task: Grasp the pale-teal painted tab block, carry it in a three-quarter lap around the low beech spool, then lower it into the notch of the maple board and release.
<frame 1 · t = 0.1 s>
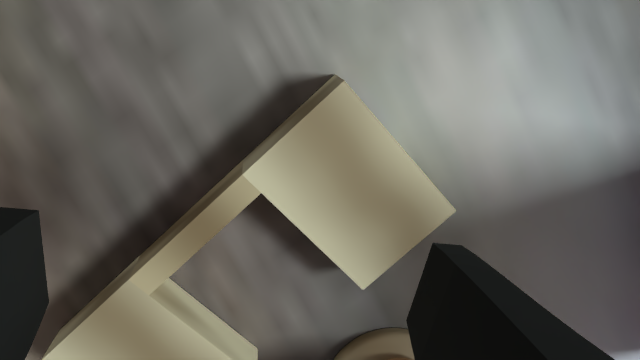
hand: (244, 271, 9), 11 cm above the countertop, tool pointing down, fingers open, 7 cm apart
notch board: (250, 260, 20), on the countertop
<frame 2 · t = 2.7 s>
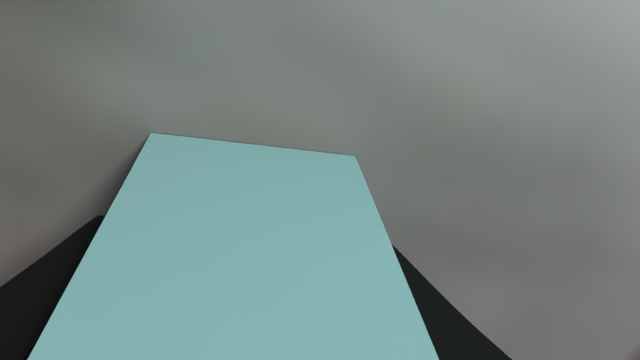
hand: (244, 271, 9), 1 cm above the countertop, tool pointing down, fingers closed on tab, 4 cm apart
tab: (246, 229, 10), on the countertop, touching gripper
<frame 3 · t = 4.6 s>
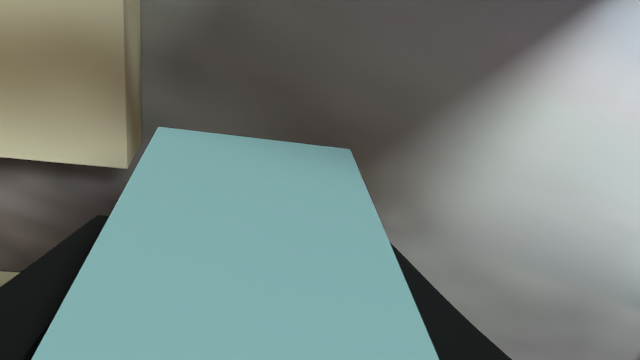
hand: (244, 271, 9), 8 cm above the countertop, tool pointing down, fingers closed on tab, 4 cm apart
tab: (247, 219, 11), point 6 cm above the countertop, touching gripper
notch board: (41, 208, 17), on the countertop
when the fingers open (3 cm above the countertop, at t = 6.6 s): tab stays where it is, on the countertop.
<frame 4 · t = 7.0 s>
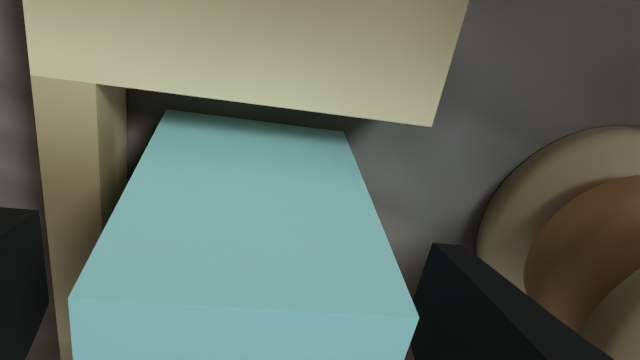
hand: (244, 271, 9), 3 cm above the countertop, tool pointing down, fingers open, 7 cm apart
tab: (248, 196, 12), on the countertop
notch board: (235, 194, 11), on the countertop
spool: (581, 226, 13), on the countertop
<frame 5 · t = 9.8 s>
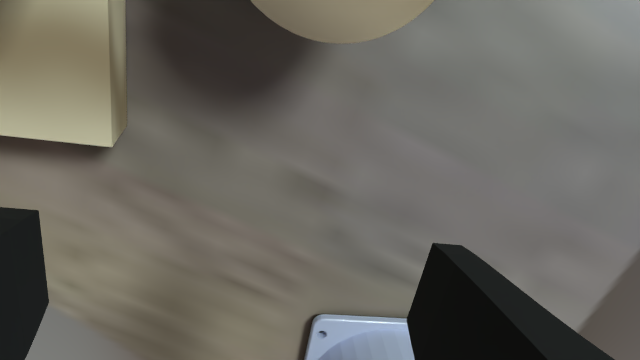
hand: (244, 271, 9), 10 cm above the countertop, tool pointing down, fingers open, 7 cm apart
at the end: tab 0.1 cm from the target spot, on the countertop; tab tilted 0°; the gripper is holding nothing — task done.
